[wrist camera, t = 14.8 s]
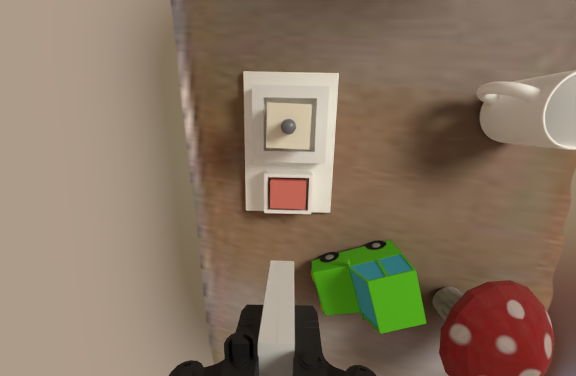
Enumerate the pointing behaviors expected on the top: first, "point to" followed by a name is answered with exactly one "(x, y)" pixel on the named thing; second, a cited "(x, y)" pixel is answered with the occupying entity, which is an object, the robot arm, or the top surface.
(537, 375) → the decorative mushroom
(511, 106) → the mug
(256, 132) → the socket plate
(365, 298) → the toy car
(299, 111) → the plug
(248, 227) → the top surface
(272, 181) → the switch
